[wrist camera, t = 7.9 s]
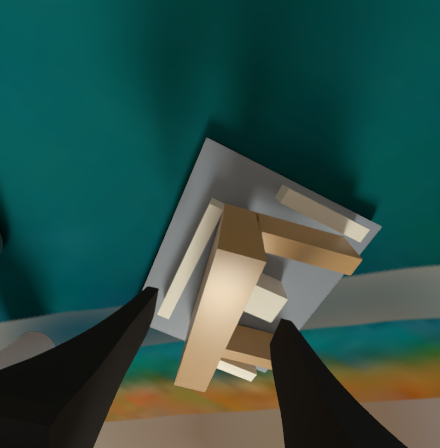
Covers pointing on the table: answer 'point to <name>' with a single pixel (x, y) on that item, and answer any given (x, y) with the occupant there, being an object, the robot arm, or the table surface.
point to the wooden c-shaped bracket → (247, 288)
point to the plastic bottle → (1, 243)
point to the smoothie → (25, 348)
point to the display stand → (276, 265)
